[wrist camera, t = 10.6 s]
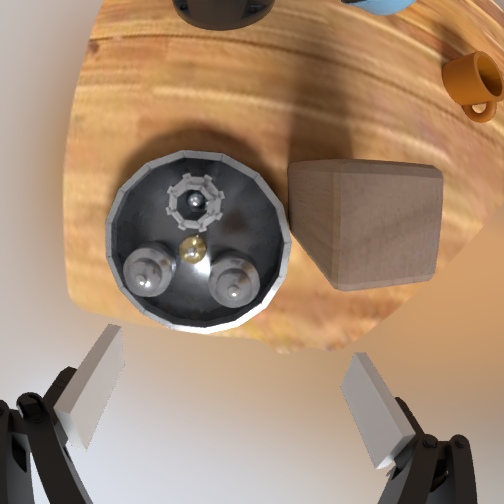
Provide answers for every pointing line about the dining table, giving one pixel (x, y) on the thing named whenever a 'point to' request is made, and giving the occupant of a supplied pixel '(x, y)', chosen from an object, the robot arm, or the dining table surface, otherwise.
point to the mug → (474, 84)
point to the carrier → (198, 245)
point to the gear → (183, 211)
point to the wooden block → (367, 220)
